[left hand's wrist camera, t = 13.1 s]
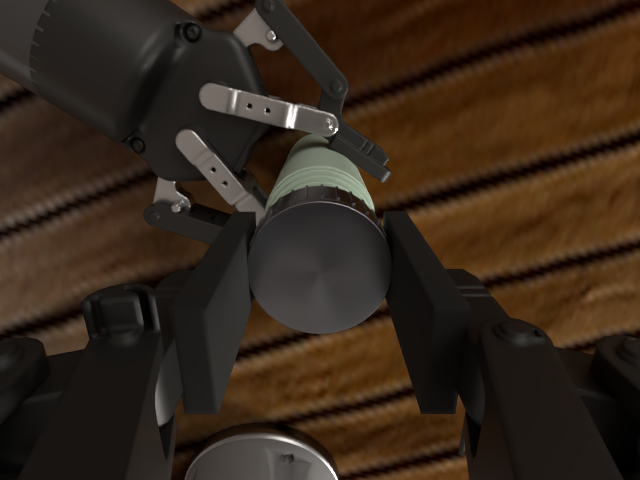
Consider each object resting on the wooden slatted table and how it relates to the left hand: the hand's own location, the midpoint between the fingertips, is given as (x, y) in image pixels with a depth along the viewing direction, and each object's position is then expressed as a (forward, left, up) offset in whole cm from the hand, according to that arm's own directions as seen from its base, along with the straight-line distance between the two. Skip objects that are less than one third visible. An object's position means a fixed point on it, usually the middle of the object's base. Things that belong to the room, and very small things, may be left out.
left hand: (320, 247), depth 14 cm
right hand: (+1, -2, -9) cm, 9 cm away
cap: (0, 0, +2) cm, 2 cm away
